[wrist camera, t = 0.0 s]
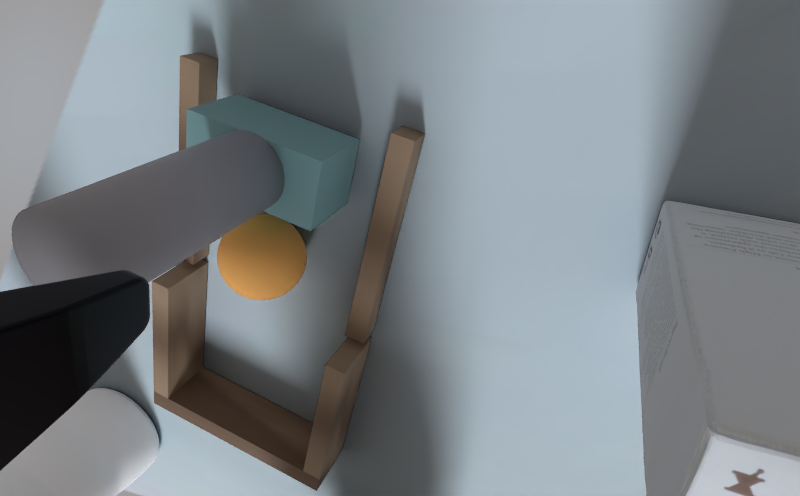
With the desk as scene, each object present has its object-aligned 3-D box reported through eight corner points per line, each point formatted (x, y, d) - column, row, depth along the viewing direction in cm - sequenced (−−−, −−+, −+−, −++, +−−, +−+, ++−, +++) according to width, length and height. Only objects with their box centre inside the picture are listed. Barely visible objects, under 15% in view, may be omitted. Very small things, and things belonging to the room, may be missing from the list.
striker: (346, 205, 24) (151, 356, 14) (233, 158, 25) (-16, 270, 16) (360, 137, 22) (149, 258, 13) (238, 92, 23) (-38, 170, 14)
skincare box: (633, 295, 21) (627, 580, 11) (664, 188, 19) (693, 422, 9) (815, 336, 19) (1005, 724, 9) (872, 223, 17) (1195, 564, 7)
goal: (341, 450, 32) (316, 490, 29) (189, 372, 34) (154, 402, 32) (424, 134, 22) (396, 154, 19) (199, 52, 24) (148, 61, 21)
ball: (315, 287, 27) (270, 330, 24) (248, 257, 28) (196, 294, 25) (327, 219, 25) (280, 256, 22) (255, 189, 26) (199, 220, 23)
